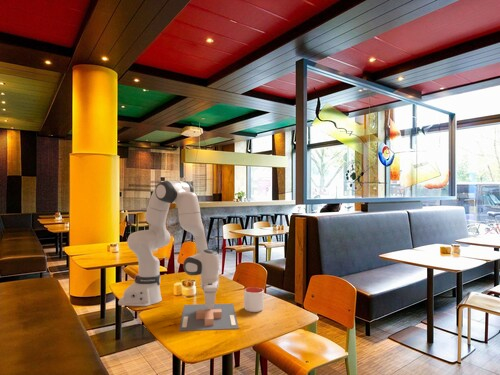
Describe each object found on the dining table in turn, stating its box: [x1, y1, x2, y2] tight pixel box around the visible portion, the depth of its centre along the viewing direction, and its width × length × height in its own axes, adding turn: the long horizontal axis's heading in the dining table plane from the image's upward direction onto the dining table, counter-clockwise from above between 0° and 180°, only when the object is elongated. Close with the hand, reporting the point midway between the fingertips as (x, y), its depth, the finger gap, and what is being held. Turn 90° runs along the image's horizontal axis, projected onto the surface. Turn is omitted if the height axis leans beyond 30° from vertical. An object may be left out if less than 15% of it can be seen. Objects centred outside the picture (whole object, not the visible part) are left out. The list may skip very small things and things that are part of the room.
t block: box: [196, 309, 222, 326], centre depth 150 cm, size 12×12×3 cm
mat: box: [178, 303, 240, 332], centre depth 156 cm, size 26×32×1 cm
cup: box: [243, 287, 265, 313], centre depth 166 cm, size 10×10×10 cm
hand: (209, 311), depth 157 cm, fingers closed
